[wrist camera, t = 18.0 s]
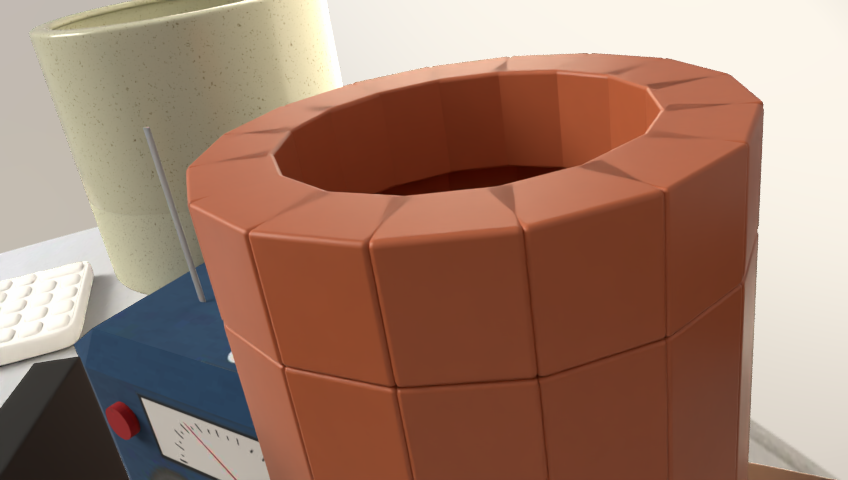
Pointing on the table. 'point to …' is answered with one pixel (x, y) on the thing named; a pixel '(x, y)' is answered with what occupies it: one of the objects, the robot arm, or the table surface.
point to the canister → (494, 271)
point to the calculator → (43, 311)
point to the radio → (173, 380)
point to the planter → (171, 104)
